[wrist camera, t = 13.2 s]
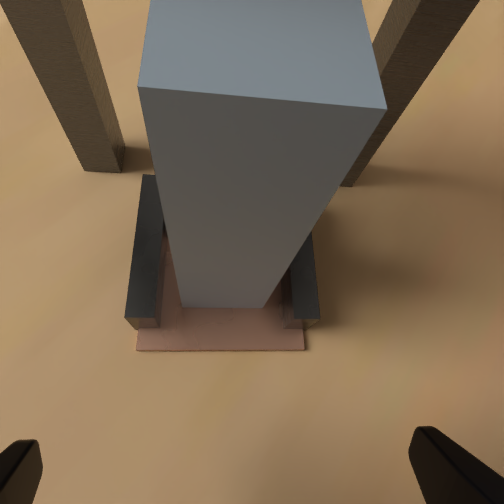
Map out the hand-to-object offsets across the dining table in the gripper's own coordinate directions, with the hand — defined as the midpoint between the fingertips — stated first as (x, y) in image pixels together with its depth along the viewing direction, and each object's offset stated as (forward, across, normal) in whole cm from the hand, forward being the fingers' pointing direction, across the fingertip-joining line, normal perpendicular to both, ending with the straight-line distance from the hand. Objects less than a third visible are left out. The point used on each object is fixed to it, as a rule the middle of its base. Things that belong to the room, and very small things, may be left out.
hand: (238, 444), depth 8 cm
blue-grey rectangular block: (+10, 0, 0) cm, 11 cm away
